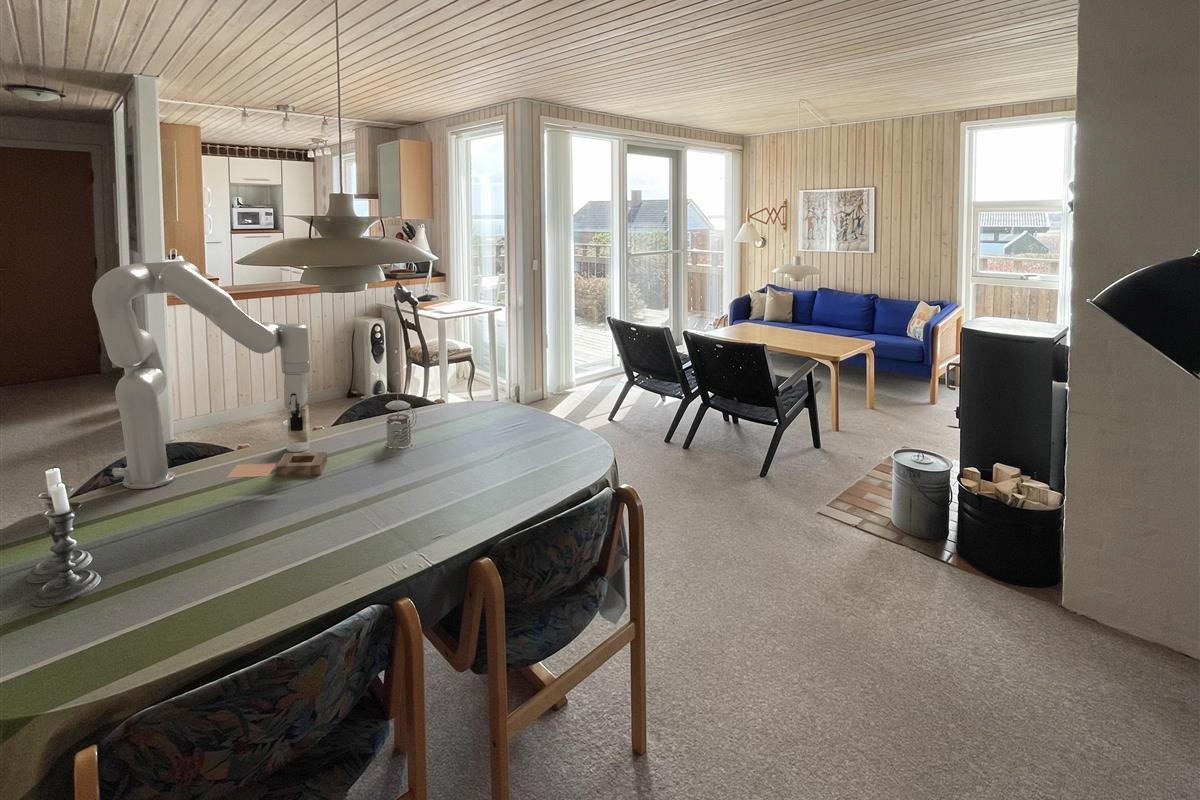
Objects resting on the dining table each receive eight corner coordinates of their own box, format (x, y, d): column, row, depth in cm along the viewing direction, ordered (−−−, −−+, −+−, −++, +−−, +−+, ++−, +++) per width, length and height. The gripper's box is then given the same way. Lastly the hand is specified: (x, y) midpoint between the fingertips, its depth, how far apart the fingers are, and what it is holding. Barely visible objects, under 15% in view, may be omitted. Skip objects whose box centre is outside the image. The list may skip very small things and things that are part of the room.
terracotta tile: (226, 480, 206) (226, 477, 206) (237, 467, 217) (237, 464, 217) (268, 479, 209) (267, 476, 208) (276, 466, 219) (276, 463, 219)
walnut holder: (277, 479, 209) (276, 466, 208) (285, 465, 220) (284, 453, 219) (321, 478, 211) (320, 465, 210) (327, 464, 222) (326, 452, 222)
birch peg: (288, 442, 210) (286, 409, 208) (292, 437, 215) (290, 405, 212) (306, 442, 211) (305, 409, 209) (309, 437, 216) (308, 404, 213)
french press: (378, 444, 244) (375, 371, 237) (407, 437, 252) (405, 367, 246) (395, 451, 237) (392, 376, 231) (424, 443, 246) (422, 372, 240)
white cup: (316, 450, 235) (314, 421, 232) (294, 456, 228) (292, 426, 226) (301, 446, 239) (299, 416, 236) (279, 451, 232) (277, 422, 230)
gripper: (287, 361, 215) (291, 419, 219) (275, 373, 199) (278, 436, 203) (314, 361, 217) (317, 419, 221) (304, 373, 200) (307, 436, 205)
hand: (298, 427), depth 212 cm, fingers closed on birch peg, 4 cm apart
